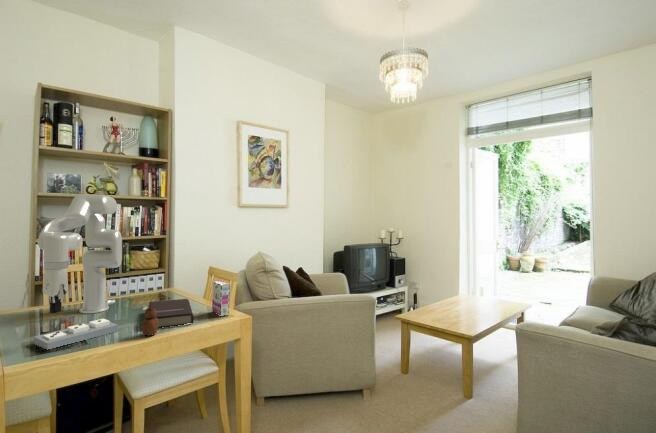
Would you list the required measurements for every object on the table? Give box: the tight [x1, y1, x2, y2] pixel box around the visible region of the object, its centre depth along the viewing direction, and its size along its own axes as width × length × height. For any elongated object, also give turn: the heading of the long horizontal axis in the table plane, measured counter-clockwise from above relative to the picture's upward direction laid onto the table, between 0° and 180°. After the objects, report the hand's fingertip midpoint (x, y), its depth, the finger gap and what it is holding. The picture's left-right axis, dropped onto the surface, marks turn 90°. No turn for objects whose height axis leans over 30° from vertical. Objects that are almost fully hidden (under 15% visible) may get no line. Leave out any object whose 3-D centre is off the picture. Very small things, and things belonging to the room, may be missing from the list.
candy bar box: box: [211, 280, 231, 315], centre depth 174 cm, size 11×5×16 cm, turn 41°
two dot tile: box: [67, 323, 89, 334], centre depth 138 cm, size 6×6×3 cm
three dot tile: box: [42, 330, 67, 341], centre depth 131 cm, size 6×6×3 cm
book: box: [147, 298, 195, 329], centre depth 165 cm, size 28×20×6 cm
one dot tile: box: [88, 318, 111, 328], centre depth 145 cm, size 6×6×3 cm
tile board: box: [33, 321, 119, 350], centre depth 138 cm, size 25×12×3 cm, turn 150°
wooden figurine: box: [141, 301, 159, 336], centre depth 143 cm, size 7×6×15 cm
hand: (55, 312), depth 131 cm, fingers closed
